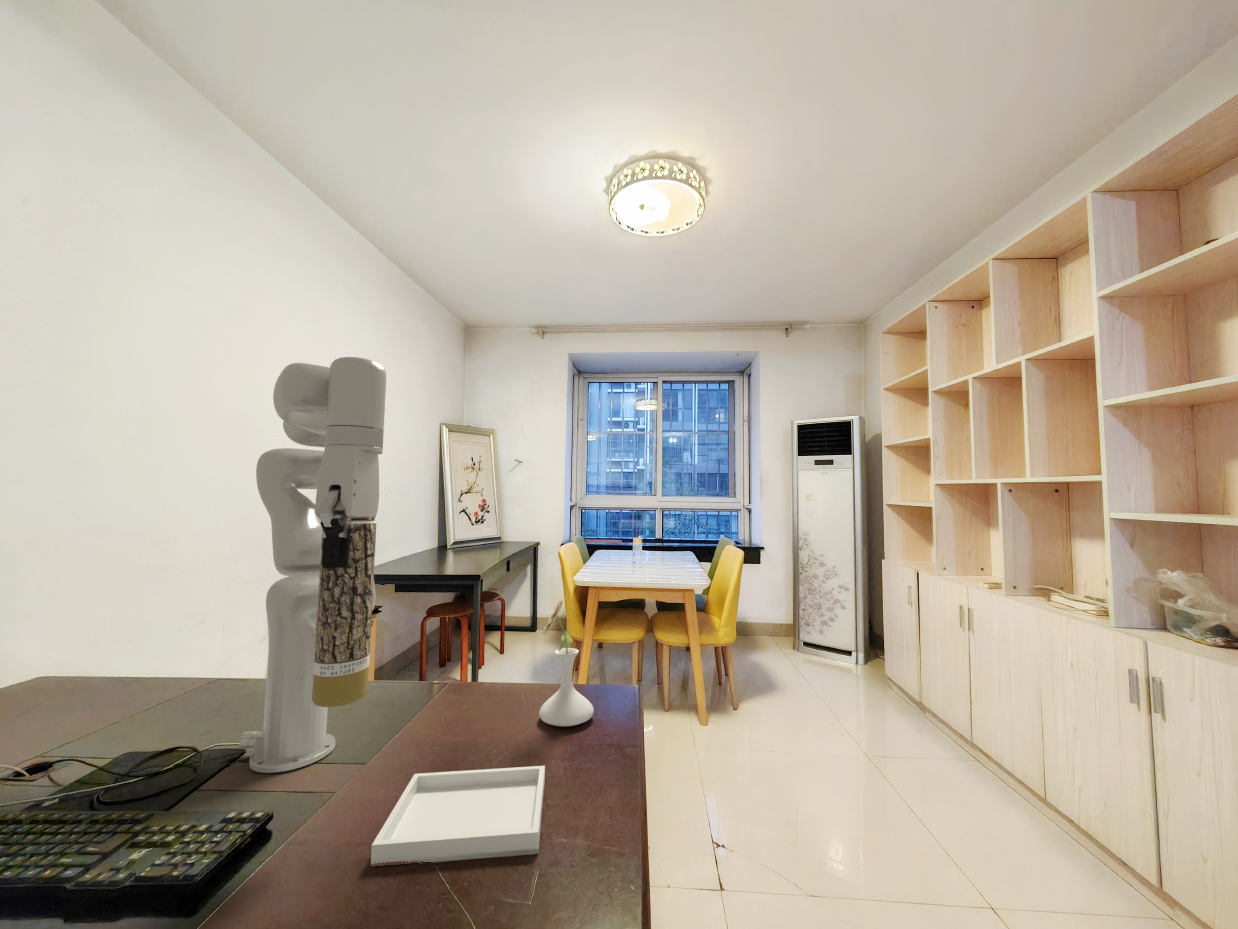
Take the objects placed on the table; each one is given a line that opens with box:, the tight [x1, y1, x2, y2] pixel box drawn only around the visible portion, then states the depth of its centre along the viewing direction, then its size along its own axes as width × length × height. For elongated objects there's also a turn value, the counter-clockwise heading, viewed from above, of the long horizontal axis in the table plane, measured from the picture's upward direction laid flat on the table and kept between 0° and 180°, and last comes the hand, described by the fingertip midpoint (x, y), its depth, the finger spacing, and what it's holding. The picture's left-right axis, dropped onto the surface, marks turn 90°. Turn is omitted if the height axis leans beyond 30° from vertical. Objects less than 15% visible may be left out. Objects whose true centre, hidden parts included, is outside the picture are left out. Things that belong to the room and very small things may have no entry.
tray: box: [370, 765, 546, 865], centre depth 66 cm, size 20×16×2 cm
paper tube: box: [312, 519, 377, 708], centre depth 67 cm, size 7×7×25 cm
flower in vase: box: [538, 599, 595, 727], centre depth 98 cm, size 13×11×25 cm
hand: (347, 563), depth 68 cm, fingers closed on paper tube, 6 cm apart
